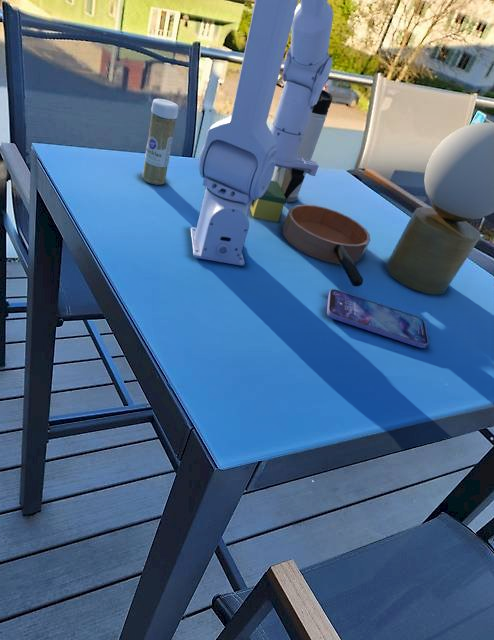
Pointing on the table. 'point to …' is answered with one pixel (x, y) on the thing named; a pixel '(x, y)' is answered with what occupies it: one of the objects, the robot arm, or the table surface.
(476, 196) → the lamp
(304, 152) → the travel mug
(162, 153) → the sprinkles bottle
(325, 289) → the table surface
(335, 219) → the pan
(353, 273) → the pan handle
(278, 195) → the sponge
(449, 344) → the table surface
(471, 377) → the table surface
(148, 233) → the table surface
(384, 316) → the smartphone
